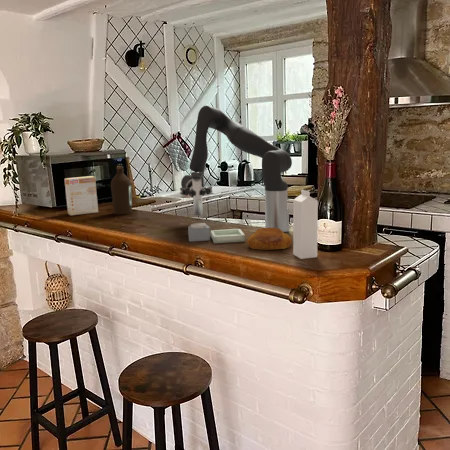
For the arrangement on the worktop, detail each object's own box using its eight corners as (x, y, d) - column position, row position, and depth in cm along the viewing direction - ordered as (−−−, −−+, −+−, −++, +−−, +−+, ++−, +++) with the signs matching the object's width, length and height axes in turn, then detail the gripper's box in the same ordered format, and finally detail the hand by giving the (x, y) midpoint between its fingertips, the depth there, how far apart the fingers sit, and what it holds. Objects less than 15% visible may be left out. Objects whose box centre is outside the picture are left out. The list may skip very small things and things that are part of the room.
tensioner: (206, 232, 195) (206, 218, 194) (209, 240, 181) (209, 225, 180) (187, 234, 194) (186, 219, 193) (189, 241, 180) (188, 226, 179)
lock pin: (203, 213, 191) (201, 171, 188) (204, 215, 187) (202, 172, 183) (192, 213, 191) (190, 172, 187) (193, 215, 186) (191, 173, 183)
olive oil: (112, 215, 242) (109, 167, 237) (113, 212, 252) (109, 165, 247) (133, 214, 244) (130, 166, 239) (133, 210, 255) (129, 165, 250)
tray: (239, 234, 190) (239, 228, 189) (245, 241, 178) (244, 235, 178) (210, 236, 188) (210, 230, 188) (213, 243, 177) (213, 236, 176)
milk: (300, 259, 152) (300, 192, 148) (293, 254, 158) (292, 190, 153) (317, 257, 154) (318, 191, 149) (309, 252, 160) (309, 188, 155)
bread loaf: (288, 258, 162) (292, 235, 160) (244, 250, 165) (247, 229, 163) (291, 246, 176) (294, 226, 174) (250, 240, 179) (252, 219, 177)
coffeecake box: (95, 210, 259) (91, 175, 255) (98, 212, 253) (95, 176, 249) (67, 213, 252) (63, 177, 248) (70, 215, 246) (66, 178, 242)
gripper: (178, 180, 199) (179, 184, 182) (211, 178, 201) (215, 182, 184) (179, 197, 201) (180, 203, 184) (211, 195, 202) (216, 201, 186)
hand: (198, 193), depth 184 cm, fingers closed on lock pin, 3 cm apart
